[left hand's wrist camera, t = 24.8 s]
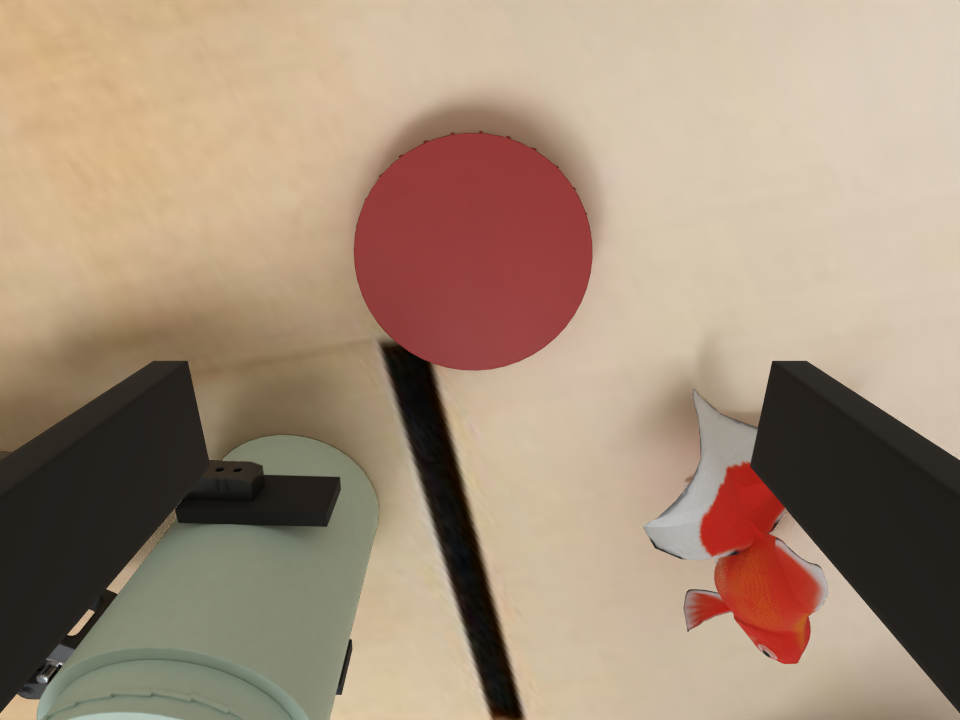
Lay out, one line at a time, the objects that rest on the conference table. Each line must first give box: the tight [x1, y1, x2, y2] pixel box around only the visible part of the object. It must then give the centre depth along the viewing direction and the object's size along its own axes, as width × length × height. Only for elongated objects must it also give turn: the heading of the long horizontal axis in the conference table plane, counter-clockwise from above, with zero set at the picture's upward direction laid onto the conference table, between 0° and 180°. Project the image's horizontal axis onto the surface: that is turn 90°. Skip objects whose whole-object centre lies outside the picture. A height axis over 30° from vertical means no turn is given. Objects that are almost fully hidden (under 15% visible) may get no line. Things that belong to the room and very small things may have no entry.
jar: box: [37, 435, 379, 720], centre depth 25 cm, size 10×10×16 cm
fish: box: [643, 388, 828, 664], centre depth 29 cm, size 11×16×10 cm
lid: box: [354, 131, 592, 370], centre depth 26 cm, size 11×11×2 cm
